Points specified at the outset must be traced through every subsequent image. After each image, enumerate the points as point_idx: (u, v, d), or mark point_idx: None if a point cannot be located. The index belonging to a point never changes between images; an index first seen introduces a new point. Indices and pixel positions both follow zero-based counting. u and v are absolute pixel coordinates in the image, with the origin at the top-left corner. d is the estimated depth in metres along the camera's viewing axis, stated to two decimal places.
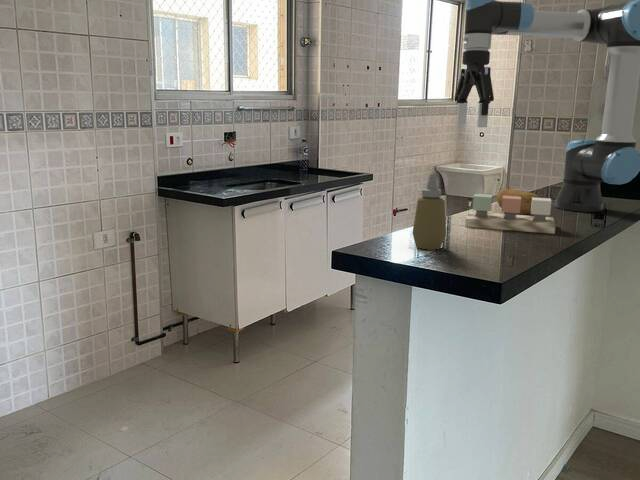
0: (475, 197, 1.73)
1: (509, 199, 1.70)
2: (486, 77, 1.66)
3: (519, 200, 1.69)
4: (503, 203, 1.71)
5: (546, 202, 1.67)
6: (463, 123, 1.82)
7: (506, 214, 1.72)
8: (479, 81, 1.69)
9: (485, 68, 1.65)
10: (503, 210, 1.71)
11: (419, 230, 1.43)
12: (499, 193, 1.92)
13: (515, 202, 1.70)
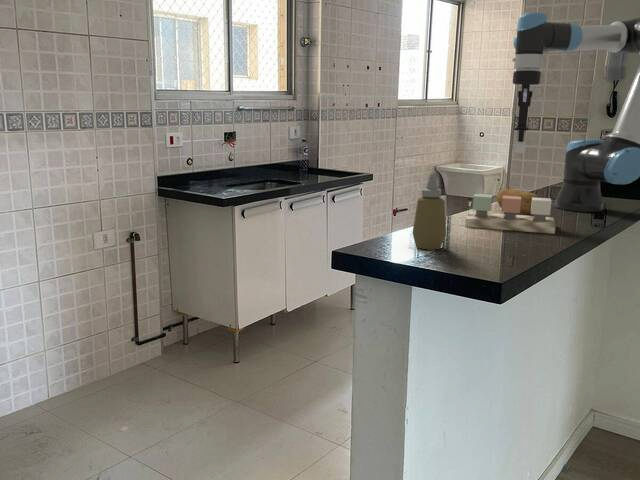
0: (475, 197, 1.73)
1: (509, 199, 1.70)
2: (523, 105, 1.70)
3: (519, 200, 1.69)
4: (503, 203, 1.71)
5: (546, 202, 1.67)
6: None
7: (506, 214, 1.72)
8: None
9: (523, 97, 1.69)
10: (503, 210, 1.71)
11: (419, 230, 1.43)
12: (499, 193, 1.92)
13: (515, 202, 1.70)
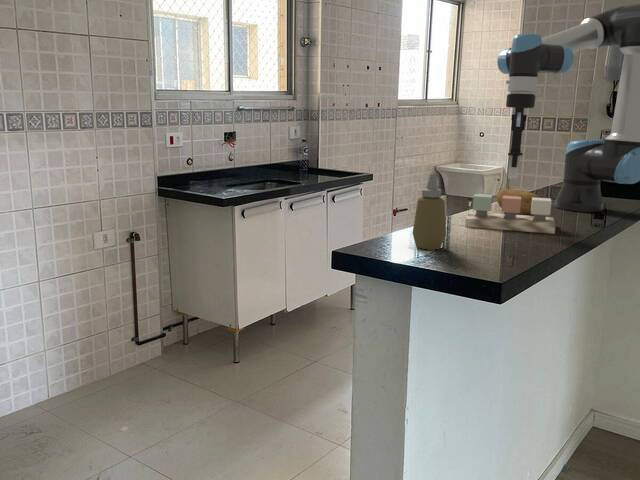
0: (475, 197, 1.73)
1: (509, 199, 1.70)
2: (517, 130, 1.63)
3: (519, 200, 1.69)
4: (503, 203, 1.71)
5: (546, 202, 1.67)
6: None
7: (506, 214, 1.72)
8: None
9: (517, 122, 1.61)
10: (503, 210, 1.71)
11: (419, 230, 1.43)
12: (499, 193, 1.92)
13: (515, 202, 1.70)
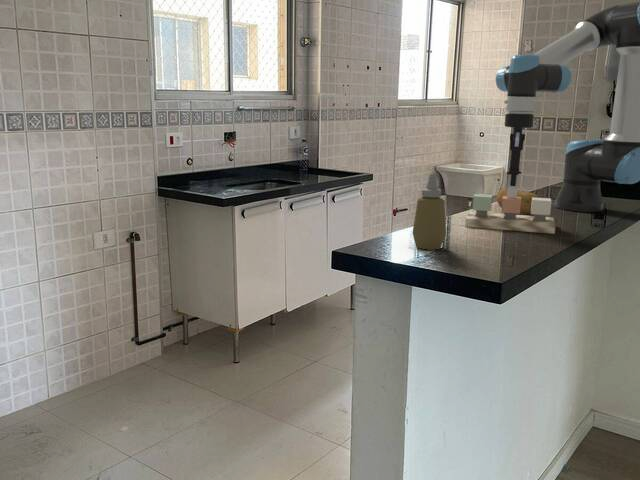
0: (475, 197, 1.73)
1: (509, 199, 1.70)
2: (515, 150, 1.64)
3: (519, 200, 1.69)
4: (503, 203, 1.71)
5: (546, 202, 1.67)
6: None
7: (506, 214, 1.72)
8: None
9: (515, 142, 1.63)
10: (503, 210, 1.71)
11: (419, 230, 1.43)
12: (499, 193, 1.92)
13: (515, 202, 1.70)
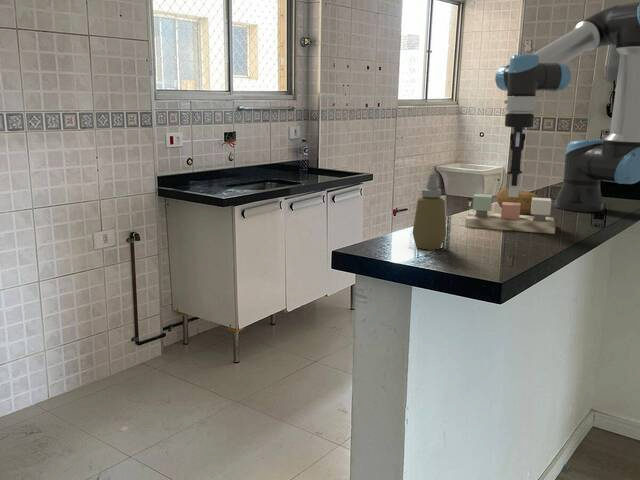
0: (475, 197, 1.73)
1: (508, 206, 1.70)
2: (516, 150, 1.64)
3: (518, 207, 1.70)
4: (502, 209, 1.71)
5: (546, 202, 1.67)
6: None
7: None
8: None
9: (516, 142, 1.63)
10: (502, 216, 1.71)
11: (419, 230, 1.43)
12: (499, 193, 1.92)
13: (514, 208, 1.70)
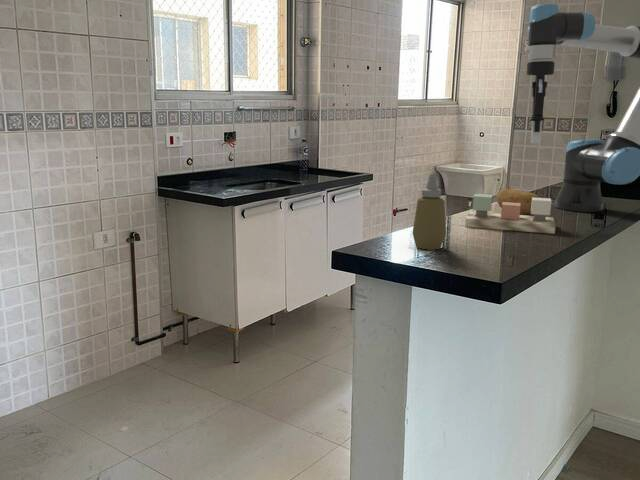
0: (475, 197, 1.73)
1: (508, 206, 1.70)
2: (539, 96, 1.72)
3: (518, 207, 1.70)
4: (502, 209, 1.71)
5: (546, 202, 1.67)
6: None
7: None
8: None
9: (539, 88, 1.71)
10: (502, 216, 1.71)
11: (419, 230, 1.43)
12: (499, 193, 1.92)
13: (514, 208, 1.70)
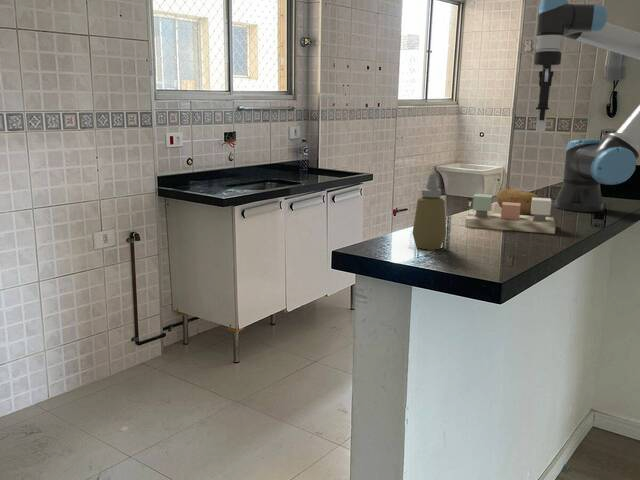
0: (475, 197, 1.73)
1: (508, 206, 1.70)
2: (545, 85, 1.77)
3: (518, 207, 1.70)
4: (502, 209, 1.71)
5: (546, 202, 1.67)
6: None
7: None
8: None
9: (545, 77, 1.75)
10: (502, 216, 1.71)
11: (419, 230, 1.43)
12: (499, 193, 1.92)
13: (514, 208, 1.70)
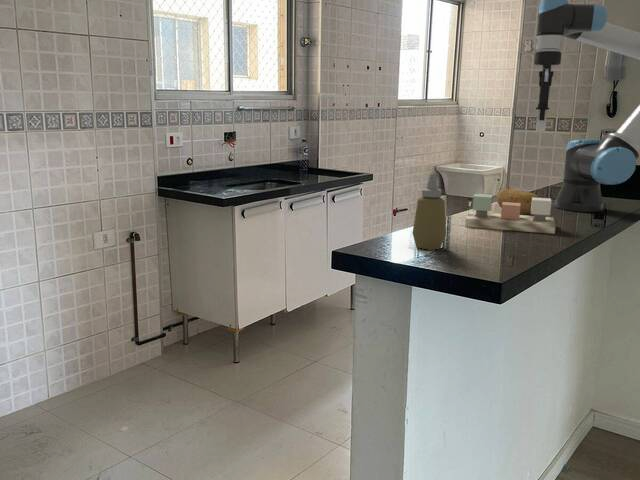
0: (475, 197, 1.73)
1: (508, 206, 1.70)
2: (545, 85, 1.77)
3: (518, 207, 1.70)
4: (502, 209, 1.71)
5: (546, 202, 1.67)
6: None
7: None
8: None
9: (545, 77, 1.75)
10: (502, 216, 1.71)
11: (419, 230, 1.43)
12: (499, 193, 1.92)
13: (514, 208, 1.70)
